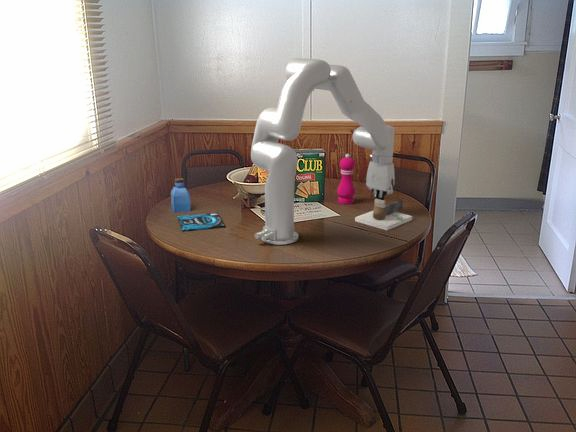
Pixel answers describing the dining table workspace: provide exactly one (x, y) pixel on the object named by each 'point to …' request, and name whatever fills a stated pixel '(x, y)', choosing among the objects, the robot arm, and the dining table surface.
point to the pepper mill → (346, 181)
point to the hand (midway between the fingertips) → (379, 206)
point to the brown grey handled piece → (385, 208)
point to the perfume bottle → (180, 197)
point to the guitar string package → (200, 222)
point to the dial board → (384, 220)
